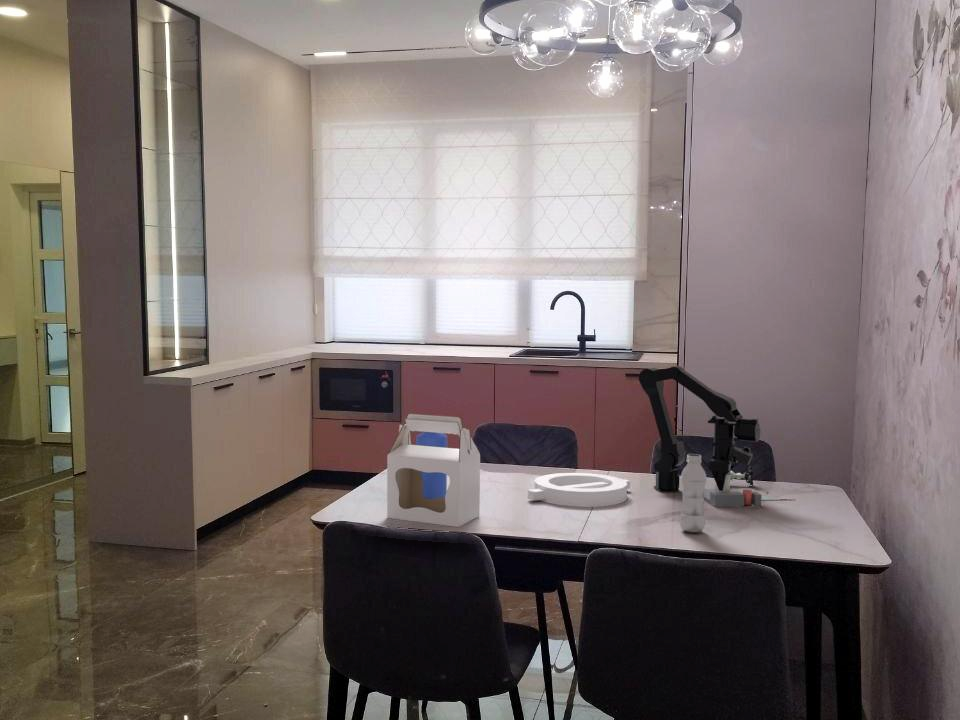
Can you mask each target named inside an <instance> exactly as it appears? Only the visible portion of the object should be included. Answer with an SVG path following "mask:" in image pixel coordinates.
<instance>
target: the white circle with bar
mask: <svg viewBox="0 0 960 720" xmlns="http://www.w3.org/2000/svg"><path fill="white" fill-rule="evenodd" d="M629 489H631V481H630V480H628V479H624V478H619V477H616V476H612V475H606V474H600V473H599V474H598V473H589V472H559V473H550V474H544V475H540V476H538V477H536V478H535V479H534V488H532V489H527V499H529V500H531V501H542V502H546V503H550V504H554V505H558V506H559V505H561V506H570V507H583V508H585V507H589V508H592V507H607V506H608V507H609V506H614V505H617V504H622V503H624V502H625V501H626V500H627V497H628V493H627V492H628V490H629Z"/></svg>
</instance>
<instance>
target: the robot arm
mask: <svg viewBox="0 0 960 720" xmlns="http://www.w3.org/2000/svg"><path fill="white" fill-rule="evenodd" d="M669 380H674V381H675V382H676V383H678V384H680V385H681V386H682V387H684V388H685V389H686V390H688V391H689V392H691V393H692V394H693V395H695V396H696V397H697V398H699V399H701V400H702V401H703V403H705V405H706V407H708V409H709V410H710V411H711V412H712V413H713V414H714V415H712V417H711V418H710V419H708V420H707V423H708V424H712V425H713V424H714V428H713V429H714V432H713V433H714V434H713V435H714V437H713V442H712V447H713V454H712V457H711V460H710V461H708V462H707V471H710V473H711V474H712V477H713V479H714V483H715V482H716V484H717V487H718V489H719V491H723V488H724V483H725V478H726V474H727V473H729V472H730V471H732V469H733V468H735V467H736V464H737V463H738V462H739V463H741V464H742V465H744V466H749V465H750V462H751V461H752V459H753V456H754V454H753V453H752V452H751V448H750V447H748V446H744V447H743V448H741V447H737V446H736V442H735V441H734V440H735V439H734V437H735V438H736V439H737V441H743V442H744V441H745V442H752V443H753V442H755V443H757V442H759V440H760V438H761V427H760V424H759V419H758V418H744V417H743V415H742V414H741V412H740V411H739V409H738V407H737V402H736V401H735V399H733V398H732V397H730V396H727V395H726V394H724V393H721V392H719V391H716V390H713V389H712V388H710V387H709V386H707V385H706V384H705V383H704V382H702V381H700V380H699V379H698V378H696V377H695V376H694V375H692V374H691V373H690V372H688V371H686V370H685V369H684V368H683V367H682V366H680V365H675V366H674V365H673V366H670V367H667V368H662V369H659V368H657V367H649V368H644V369H642V370H641V371H640V372H639V374H638V382H639V385H640V387H641V388H642V390H643V392H644V393H645V394H646V396H647V398H648V399H649V404H650V407H651V409H652V414H653V416H654V422H655V424H656V427H657V432H658V435H659V438H660V448H659V450H660V451H659V452H660V453H659V455H660V459H659V460H658V461H657V462H655V463H654V464H653V469H654V471H655V485H653V488H654V489H655V488H656V489H655V490H657V491H658V492H660V491H668V492H680V475H679V471H678V470H679V469H680V466H681V465H682V464H683V463H684V462H685V461H686V459H687V455H686V454H687V451H686V448H685V443H684V440H682V441H681V440H680V441H679V440H678V439H677V437H676V435H675V432H674V428H673V424H672V421H671V417H670V414H669V411H668V407H667V403H666V400H665V396H664V386H665V383H664V381H669ZM732 462H734V464H732Z"/></svg>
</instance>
